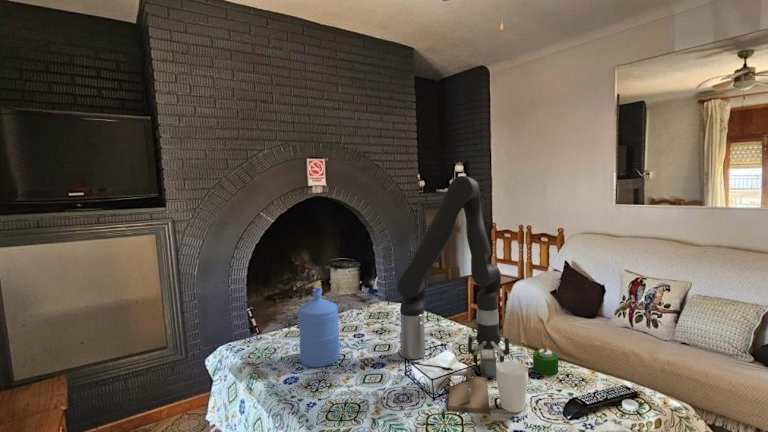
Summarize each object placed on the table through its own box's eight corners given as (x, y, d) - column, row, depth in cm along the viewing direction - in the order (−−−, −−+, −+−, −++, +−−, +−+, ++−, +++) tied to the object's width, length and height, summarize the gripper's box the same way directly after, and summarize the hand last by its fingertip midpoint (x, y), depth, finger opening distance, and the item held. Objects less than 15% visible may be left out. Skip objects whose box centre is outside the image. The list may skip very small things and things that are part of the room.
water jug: (348, 357, 153) (345, 288, 150) (316, 372, 141) (312, 297, 139) (323, 347, 163) (320, 282, 161) (292, 360, 152) (288, 290, 150)
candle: (557, 366, 140) (557, 339, 139) (559, 377, 132) (559, 348, 131) (532, 363, 142) (532, 337, 142) (533, 374, 135) (533, 346, 134)
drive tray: (448, 409, 115) (448, 392, 115) (450, 378, 134) (450, 363, 133) (490, 413, 113) (489, 396, 112) (486, 380, 131) (486, 365, 131)
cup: (492, 399, 120) (491, 362, 119) (520, 397, 120) (520, 360, 119) (503, 416, 111) (503, 376, 110) (534, 414, 111) (533, 374, 110)
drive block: (481, 377, 134) (481, 360, 133) (480, 363, 144) (479, 348, 143) (496, 378, 133) (496, 360, 132) (494, 364, 143) (493, 348, 142)
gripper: (467, 323, 135) (468, 368, 136) (509, 324, 132) (510, 370, 133) (467, 316, 142) (468, 359, 143) (507, 317, 139) (508, 360, 140)
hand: (488, 364), depth 138 cm, fingers open, 8 cm apart
